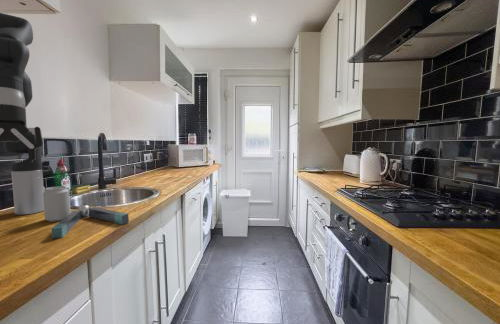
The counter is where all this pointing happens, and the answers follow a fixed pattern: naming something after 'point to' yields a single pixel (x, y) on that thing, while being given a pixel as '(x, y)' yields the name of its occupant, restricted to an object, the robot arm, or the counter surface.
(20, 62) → the robot arm
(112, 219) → the tong arm
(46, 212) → the can
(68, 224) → the tong base
